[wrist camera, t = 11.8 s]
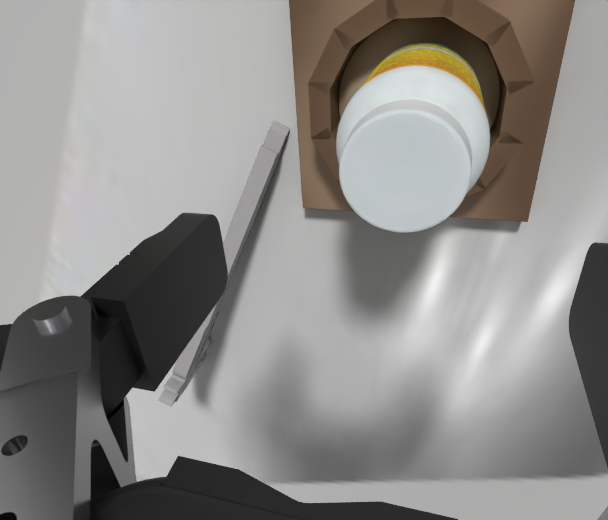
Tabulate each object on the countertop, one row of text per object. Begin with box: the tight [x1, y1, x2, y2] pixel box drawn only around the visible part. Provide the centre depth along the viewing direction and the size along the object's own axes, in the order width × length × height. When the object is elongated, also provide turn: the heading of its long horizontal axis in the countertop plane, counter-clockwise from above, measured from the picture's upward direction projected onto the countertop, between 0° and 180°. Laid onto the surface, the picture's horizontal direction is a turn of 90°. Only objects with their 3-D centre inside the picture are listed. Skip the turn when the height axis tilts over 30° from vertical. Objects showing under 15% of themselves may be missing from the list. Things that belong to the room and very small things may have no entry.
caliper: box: [159, 121, 290, 406], centre depth 29 cm, size 21×1×6 cm, turn 158°
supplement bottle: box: [336, 42, 490, 233], centre depth 18 cm, size 5×5×10 cm
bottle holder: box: [289, 0, 575, 222], centre depth 22 cm, size 12×12×3 cm
